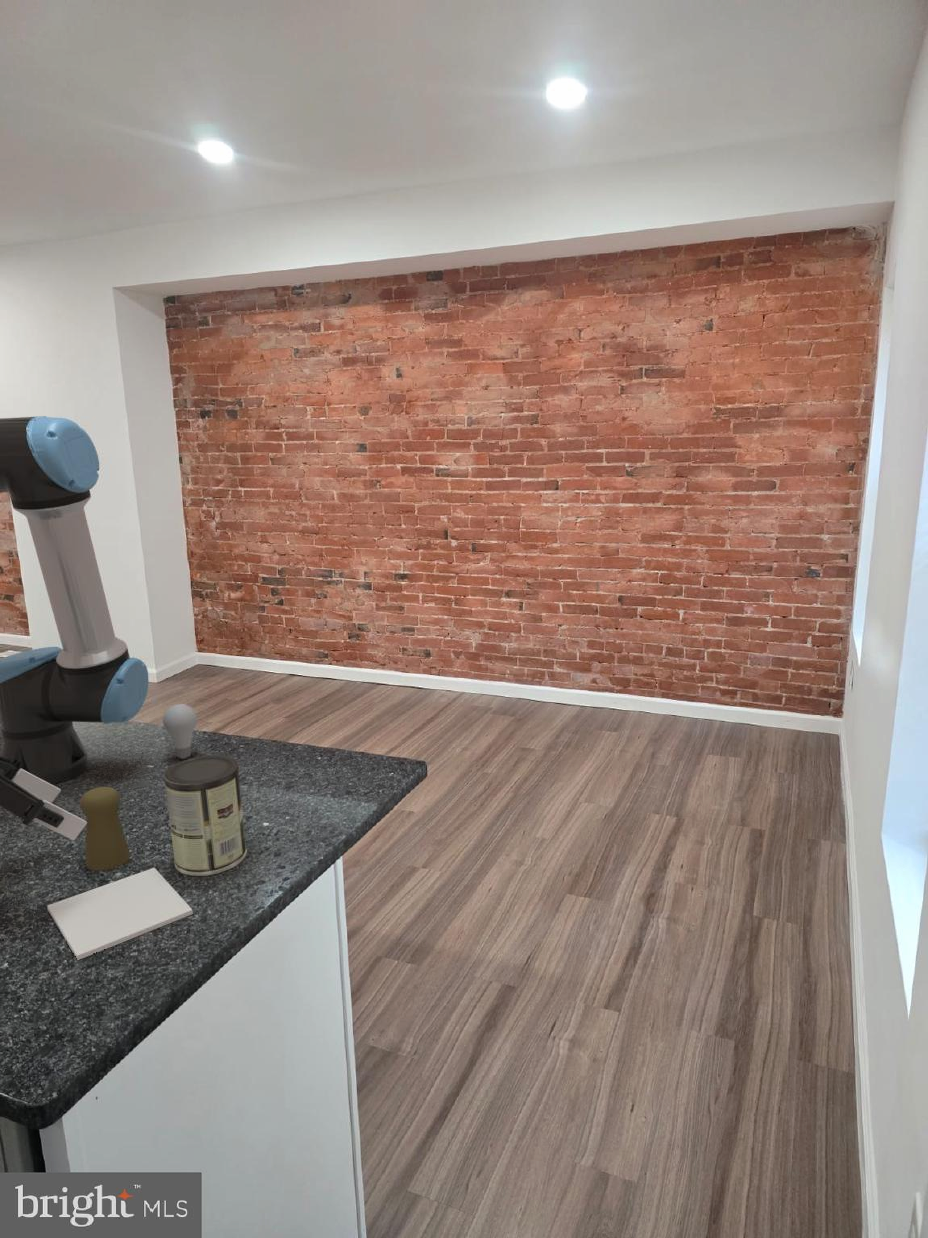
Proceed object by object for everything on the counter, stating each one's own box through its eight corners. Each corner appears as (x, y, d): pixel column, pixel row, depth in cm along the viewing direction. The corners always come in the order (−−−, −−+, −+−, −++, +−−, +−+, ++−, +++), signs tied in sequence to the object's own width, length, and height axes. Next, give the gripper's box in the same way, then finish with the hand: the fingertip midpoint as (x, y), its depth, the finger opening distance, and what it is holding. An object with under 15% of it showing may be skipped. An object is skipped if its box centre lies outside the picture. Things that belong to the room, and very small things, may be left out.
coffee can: (197, 838, 123) (187, 752, 120) (258, 843, 121) (251, 756, 118) (159, 873, 113) (147, 781, 110) (225, 880, 111) (216, 786, 108)
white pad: (47, 909, 105) (47, 905, 105) (154, 871, 113) (154, 867, 113) (77, 960, 94) (76, 956, 94) (192, 914, 103) (192, 909, 103)
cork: (113, 872, 113) (104, 801, 111) (76, 869, 115) (66, 798, 112) (138, 851, 119) (130, 783, 117) (103, 848, 120) (93, 780, 118)
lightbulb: (161, 760, 153) (154, 706, 151) (187, 750, 158) (182, 697, 155) (180, 767, 150) (174, 712, 147) (207, 756, 155) (202, 703, 152)
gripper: (-112, 737, 107) (28, 807, 120) (-91, 797, 88) (72, 872, 101) (-72, 691, 109) (61, 764, 122) (-43, 740, 90) (111, 821, 103)
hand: (66, 813), depth 111 cm, fingers open, 13 cm apart
